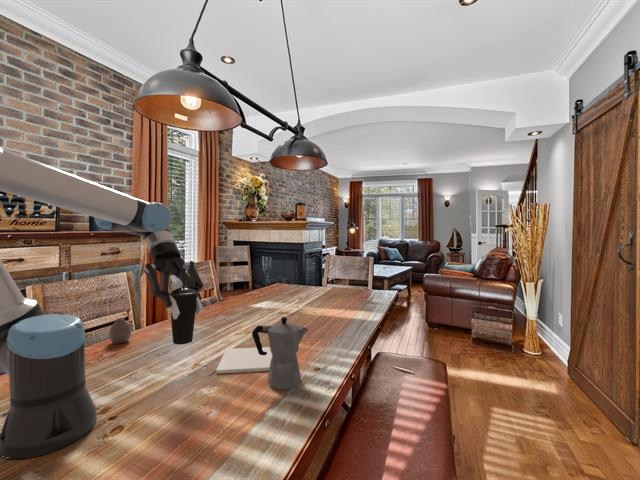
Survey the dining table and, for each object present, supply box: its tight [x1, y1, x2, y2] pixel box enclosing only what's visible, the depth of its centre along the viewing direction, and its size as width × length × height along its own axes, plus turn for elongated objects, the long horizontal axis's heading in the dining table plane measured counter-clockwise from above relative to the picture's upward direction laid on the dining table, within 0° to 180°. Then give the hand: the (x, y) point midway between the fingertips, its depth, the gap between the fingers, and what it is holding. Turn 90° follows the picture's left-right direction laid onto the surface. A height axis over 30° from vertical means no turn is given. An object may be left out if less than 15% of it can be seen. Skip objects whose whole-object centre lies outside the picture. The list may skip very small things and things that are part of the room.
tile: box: [215, 346, 272, 374], centre depth 98 cm, size 16×16×1 cm
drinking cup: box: [168, 267, 200, 346], centre depth 84 cm, size 8×8×20 cm
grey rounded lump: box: [108, 317, 132, 345], centre depth 114 cm, size 7×7×9 cm
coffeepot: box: [251, 316, 309, 391], centre depth 84 cm, size 15×9×18 cm, turn 89°
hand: (188, 313), depth 81 cm, fingers closed on drinking cup, 6 cm apart
